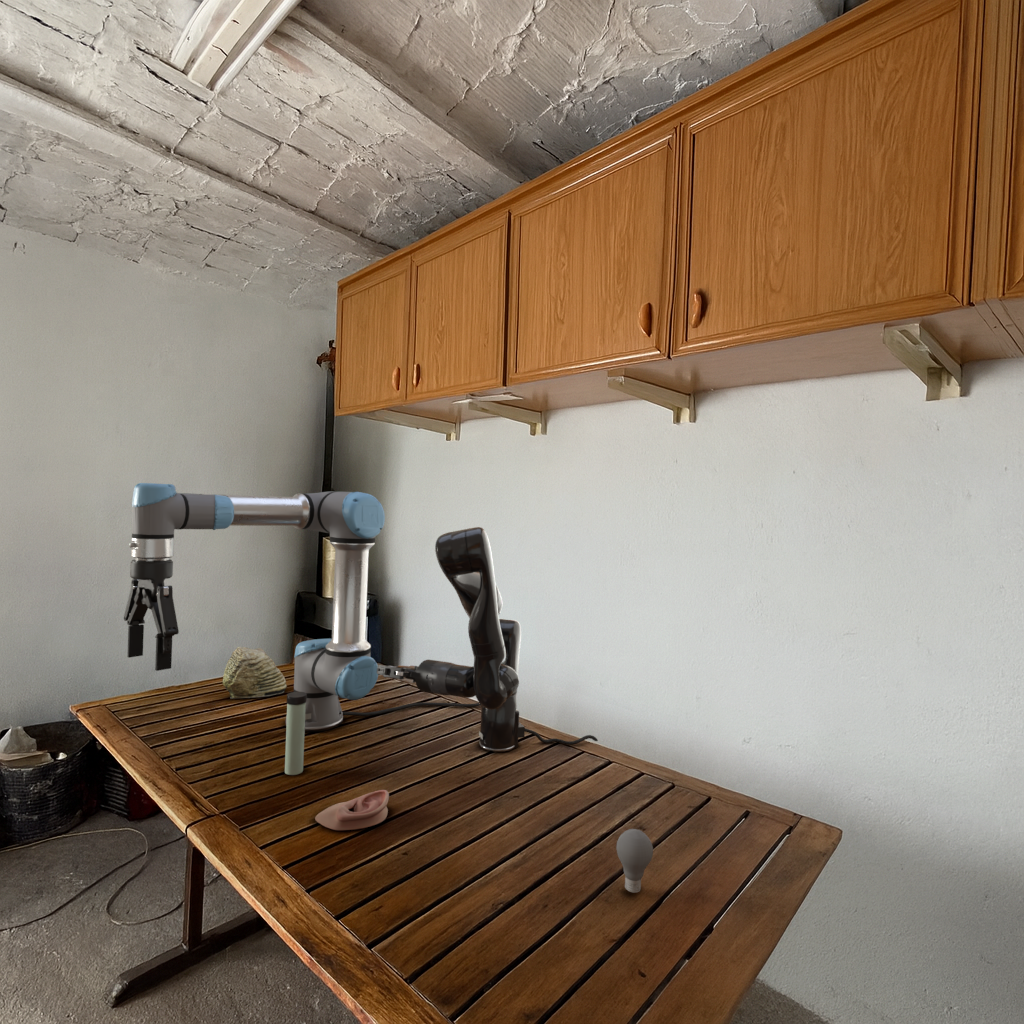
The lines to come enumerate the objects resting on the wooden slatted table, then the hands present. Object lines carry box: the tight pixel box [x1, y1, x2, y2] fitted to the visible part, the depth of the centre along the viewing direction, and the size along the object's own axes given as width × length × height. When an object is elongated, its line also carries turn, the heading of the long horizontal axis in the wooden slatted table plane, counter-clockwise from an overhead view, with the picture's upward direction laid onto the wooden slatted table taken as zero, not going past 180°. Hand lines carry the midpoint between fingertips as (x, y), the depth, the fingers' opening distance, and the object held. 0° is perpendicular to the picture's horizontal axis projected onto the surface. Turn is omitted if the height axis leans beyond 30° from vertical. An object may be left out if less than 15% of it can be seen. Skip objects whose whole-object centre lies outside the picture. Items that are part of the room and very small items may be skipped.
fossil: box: [222, 646, 288, 699], centre depth 198 cm, size 9×18×15 cm, turn 132°
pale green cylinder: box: [284, 702, 306, 776], centre depth 145 cm, size 4×4×17 cm
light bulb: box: [615, 828, 654, 894], centre depth 106 cm, size 6×6×10 cm
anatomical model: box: [314, 789, 390, 831], centre depth 126 cm, size 13×4×12 cm
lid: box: [286, 691, 307, 705], centre depth 145 cm, size 4×4×2 cm
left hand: (148, 662), depth 129 cm, fingers open, 13 cm apart
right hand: (390, 670), depth 157 cm, fingers open, 8 cm apart
